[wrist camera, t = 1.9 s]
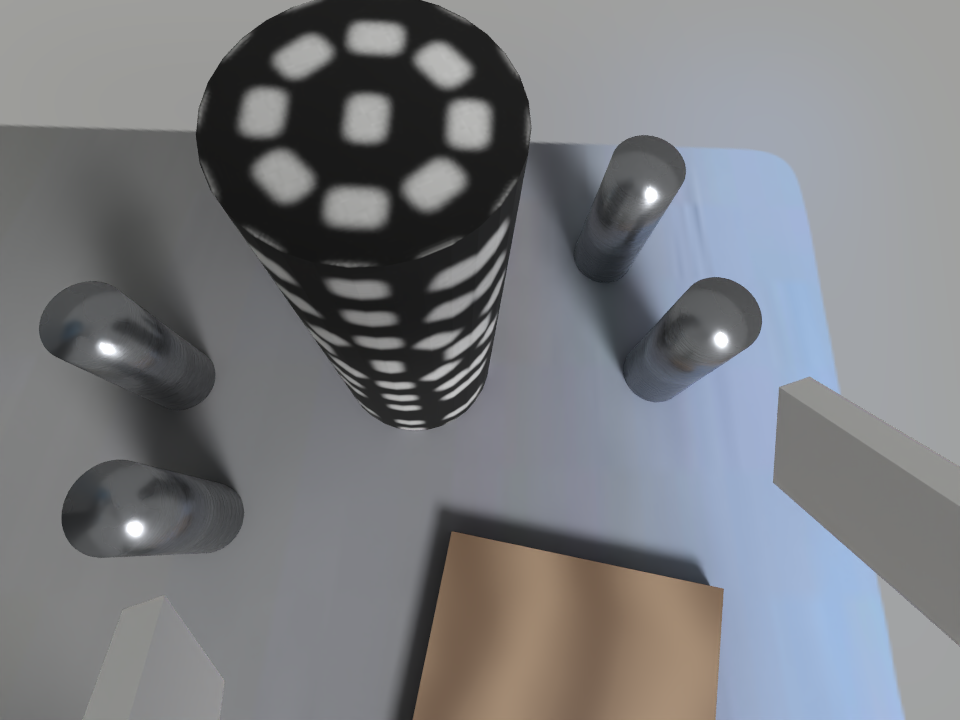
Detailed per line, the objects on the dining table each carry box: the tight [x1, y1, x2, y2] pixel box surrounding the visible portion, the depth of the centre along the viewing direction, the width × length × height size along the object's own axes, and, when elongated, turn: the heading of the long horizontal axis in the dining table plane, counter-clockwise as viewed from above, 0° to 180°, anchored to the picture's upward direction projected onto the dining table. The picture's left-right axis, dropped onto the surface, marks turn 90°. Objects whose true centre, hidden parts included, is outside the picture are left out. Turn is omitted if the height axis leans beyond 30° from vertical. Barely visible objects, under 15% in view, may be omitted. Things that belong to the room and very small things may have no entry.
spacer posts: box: [39, 135, 762, 558], centre depth 29 cm, size 30×24×9 cm
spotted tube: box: [196, 0, 531, 430], centre depth 24 cm, size 8×8×20 cm
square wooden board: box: [413, 531, 724, 720], centre depth 27 cm, size 14×14×2 cm
